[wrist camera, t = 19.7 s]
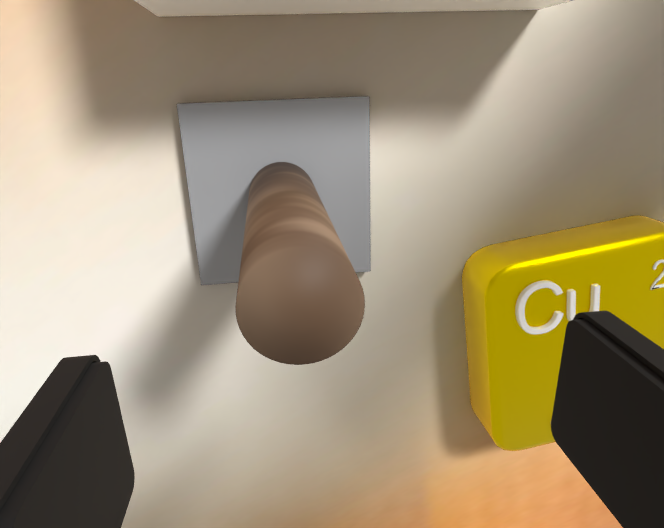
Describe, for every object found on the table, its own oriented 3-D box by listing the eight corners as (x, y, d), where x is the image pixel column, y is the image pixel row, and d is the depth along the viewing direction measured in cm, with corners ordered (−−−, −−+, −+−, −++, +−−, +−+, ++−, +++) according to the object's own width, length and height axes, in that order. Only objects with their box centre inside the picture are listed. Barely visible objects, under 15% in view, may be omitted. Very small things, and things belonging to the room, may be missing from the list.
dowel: (313, 160, 30) (364, 242, 15) (316, 224, 31) (365, 358, 16) (246, 163, 29) (228, 252, 14) (252, 228, 31) (242, 370, 16)
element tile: (470, 421, 40) (497, 464, 35) (457, 249, 34) (487, 273, 30) (642, 381, 41) (689, 417, 36) (656, 208, 36) (713, 226, 31)
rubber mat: (366, 96, 30) (369, 96, 29) (368, 267, 33) (370, 271, 33) (178, 103, 28) (176, 103, 28) (202, 280, 32) (201, 285, 31)
